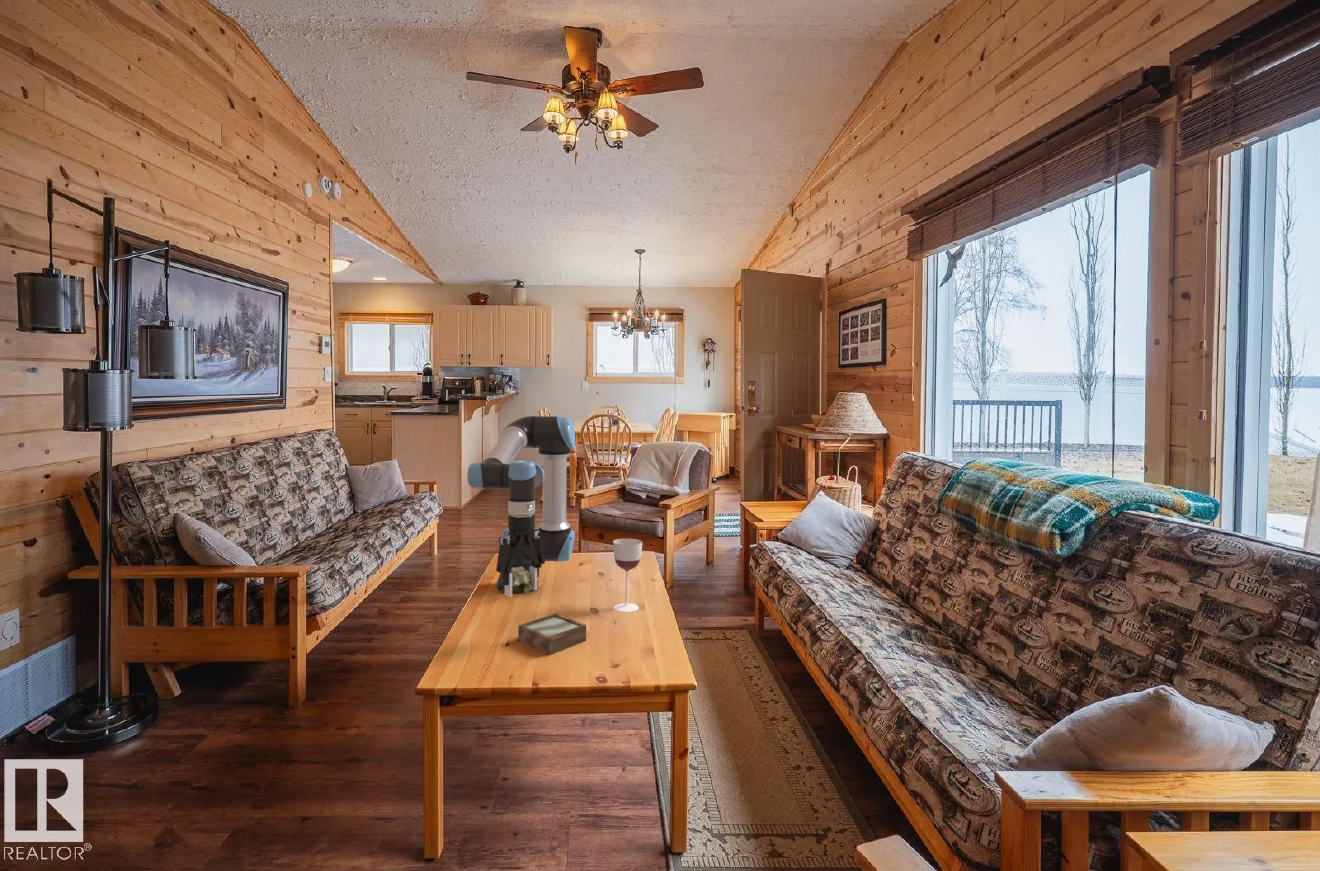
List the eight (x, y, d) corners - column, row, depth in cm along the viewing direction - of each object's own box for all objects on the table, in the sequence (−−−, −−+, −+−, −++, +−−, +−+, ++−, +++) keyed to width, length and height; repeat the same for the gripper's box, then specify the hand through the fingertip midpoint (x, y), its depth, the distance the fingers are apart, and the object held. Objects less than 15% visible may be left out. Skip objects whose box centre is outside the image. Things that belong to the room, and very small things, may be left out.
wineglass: (637, 613, 204) (638, 545, 203) (608, 610, 206) (610, 543, 205) (643, 604, 213) (645, 539, 211) (615, 601, 215) (617, 537, 213)
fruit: (508, 589, 183) (513, 563, 184) (536, 596, 180) (541, 569, 181) (492, 593, 174) (497, 565, 175) (521, 600, 172) (526, 571, 172)
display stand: (518, 641, 179) (518, 625, 178) (555, 628, 189) (555, 613, 189) (549, 655, 170) (549, 638, 169) (586, 640, 180) (586, 624, 180)
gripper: (497, 521, 165) (497, 603, 166) (558, 512, 180) (557, 587, 182) (482, 517, 170) (482, 597, 171) (543, 508, 185) (542, 581, 187)
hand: (521, 592), depth 177 cm, fingers closed on fruit, 8 cm apart
